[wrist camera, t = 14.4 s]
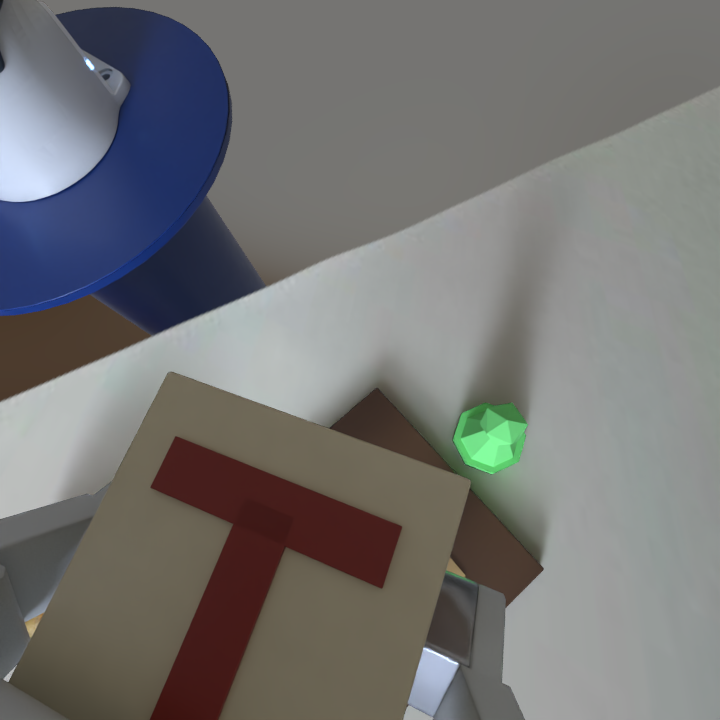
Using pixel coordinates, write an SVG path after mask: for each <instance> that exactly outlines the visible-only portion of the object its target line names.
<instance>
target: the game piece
mask: <svg viewBox="0 0 720 720" xmlns="http://www.w3.org/2000/svg"><path fill="white" fill-rule="evenodd" d="M527 426H528V424H527V422H526V421H525V420H524V418H523V417H522V415H521V414H520V413H519V411H518V410H517V408H516V407H515V406H514V404H513V403H508V404H502V405H496V406H494V405H491V404H488V403H483V404H481V405H479V406H477V407H475V408H472V409H470V410H468V411H466V412H464V413H462V414H461V416H460V419H459V422H458V425H457V428H456V431H455V434H454V437H453V442H454V444H455V446H456V448H457V450H458V452H459V454H460V456H461V458H462V460H463V462H464V464H465V465H467V466H470V467H473V468H475V469H478V470H481V471H484V472H486V473H489V474H494V473H496V472H498V471H500V470H502V469H504V468H506V467H509V466H511V465H513V464H515V463H517V462H519V459H520V455H521V452H522V448H523V445H524V441H525V437H526V435H525V433H524V431H525V429H526V427H527Z"/></svg>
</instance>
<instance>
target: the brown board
mask: <svg viewBox="0 0 720 720" xmlns="http://www.w3.org/2000/svg"><path fill="white" fill-rule="evenodd" d="M329 429H332V430H335V431H337V432H340V433H343V434H346V435H348V436H351V437H354V438H357V439H359V440H362V441H365V442H368V443H371V444H373V445H376V446H379V447H382V448H384V449H387V450H390V451H393V452H395V453H398V454H401V455H404V456H407V457H409V458H412V459H415V460H418V461H420V462H423V463H426V464H429V465H431V466H434V467H437V468H440V469H442V470H445V471H448V472H451V473H454V474H456V473H455V471H454V470H453V469H452V468H451V467H450V466H449V465H448V464H447V463H446V462H445V461H444V460H443V458H442V457H441V456H440V455H439V454H438V453H437V452H436V451H435V450H434V449H433V448H432V447H431V445H430V444H429V443H428V442H427V441H426V440H425V439H424V438H423V437H422V436H421V435H420V433H419V432H418V431H417V430H416V429H415V428H414V427H413V426H412V425H411V424H410V423H409V422H408V420H407V419H406V418H405V417H404V416H403V415H402V414H401V413H400V412H399V411H398V410H397V409H396V407H395V406H394V405H393V404H392V403H391V402H390V401H389V400H388V399H387V398H386V397H385V395H384V394H383V393H382V392H381V391H380V390H379V389H378V388H375V389H374V390H373V391H372V392H371V393H370V394H369V395H367V396H366V397H365V398H364V399H363V400H362V401H361V402H359V403H358V404H357V405H356V406H355V407H354V408H352V409H351V410H350V411H349V412H348V413H347V414H346V415H344V416H343V417H342V418H341V419H340V420H339V421H337V422H336V423H335V424H334V425H333V426H332V427H331V428H329ZM456 475H457V474H456ZM446 570H447V571H450V572H452V573H455V574H457V575H460V576H462V577H465V578H467V579H470V580H472V581H475V582H477V584H481V585H483V586H486V587H488V588H490V589H493V590H495V591H498V592H500V593H503V594H504V596H505V599H506V605H505V608H506V607H507V606H508V605H509V604H510V603H511V602H512V601H513V600H514V599H515V598H516V597H517V596H518V595H519V594H520V593H521V592H522V591H523V590H524V589H525V588H526V587H527V586H528V585H529V584H530V583H531V582H532V581H533V580H534V579H535V578H536V577H537V576H538V575H539V574H540V573H541V572H542V571H543V567H542V566H541V565H540V564H539V563H538V562H537V561H536V559H535V558H534V557H533V556H532V555H531V554H530V553H529V552H528V551H527V550H526V549H525V548H524V546H523V545H522V544H521V543H520V542H519V541H518V540H517V539H516V538H515V537H514V536H513V534H512V533H511V532H510V531H509V530H508V529H507V528H506V527H505V526H504V525H503V524H502V523H501V521H500V520H499V519H498V518H497V517H496V516H495V515H494V514H493V513H492V512H491V511H490V510H489V508H488V507H487V506H486V505H485V504H484V503H483V502H482V501H481V500H480V499H479V498H478V496H477V495H476V494H475V493H474V492H473V491H472V490H471V489H469V493H468V496H467V499H466V503H465V506H464V510H463V513H462V517H461V520H460V524H459V527H458V531H457V534H456V538H455V541H454V544H453V548H452V551H451V555H450V558H449V562H448V565H447V569H446ZM407 706H408V704H407Z"/></svg>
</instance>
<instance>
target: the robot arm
mask: <svg viewBox="0 0 720 720" xmlns="http://www.w3.org/2000/svg"><path fill="white" fill-rule="evenodd" d="M130 86H131V85H130V82H129V81H128V80H127V78H126V77H125V76H124V75H123V74H122V73H121V72H120V71H118V70H116V69H115V68H113V67H111V66H109V65H108V64H106V63H104V62H103V61H101V60H99V59H98V58H96V57H94V56H92V55H91V54H89V53H87V52H86V51H84V50H82V49H81V48H80V47H79V46H78V44H77V43H76V42H75V40H74V39H73V38H72V37H71V35H70V34H69V33H68V31H67V30H66V29H65V27H64V26H63V25H62V23H61V22H60V21H59V19H58V18H57V17H56V16H55V14H54V13H53V12H52V10H51V9H50V8H49V7H48V6H47V5H46V4H45V3H44V2H43V1H37V0H0V200H3V201H9V202H26V201H32V200H37V199H41V198H45V197H48V196H50V195H53V194H55V193H58V192H60V191H62V190H64V189H66V188H68V187H69V186H71V185H73V184H74V183H76V182H77V181H78V180H80V179H81V178H83V177H84V176H85V175H86V174H87V173H89V172H90V171H91V170H92V169H93V168H94V167H95V166H96V165H97V164H98V162H99V161H100V160H101V159H102V158H103V156H104V155H105V153H106V152H107V150H108V149H109V147H110V145H111V143H112V141H113V139H114V137H115V134H116V130H117V125H118V116H119V110H120V107H121V105H122V103H123V102H124V100H125V98H126V97H127V95H128V93H129V90H130ZM111 482H112V481H111ZM111 482H110V483H109V484H107V485H106V486H105V487H104V488H102V489H101V490H100V491H98V492H97V493H96V494H95V495H93V496H92V495H89V494H85V495H81V496H78V497H74V498H71V499H68V500H64V501H61V502H57V503H54V504H51V505H47V506H44V507H40V508H37V509H34V510H30V511H27V512H23V513H20V514H17V515H13V516H10V517H6V518H3V519H0V720H69V719H68V718H66V717H64V716H63V715H61V714H59V713H58V712H56V711H54V710H53V709H51V708H50V707H48V706H46V705H45V704H43V703H41V702H40V701H38V700H36V699H35V698H33V697H31V696H30V695H28V694H26V693H25V692H23V691H21V690H20V689H18V688H16V687H15V686H13V685H12V684H10V683H8V682H7V681H5V680H3V678H4V677H5V676H6V675H7V674H8V673H9V672H10V671H11V670H12V669H13V668H14V667H15V666H16V665H17V664H18V663H19V661H20V659H21V657H22V655H23V653H24V651H25V649H26V647H27V645H28V643H29V641H30V636H29V633H28V631H27V628H26V625H25V622H26V621H28V620H30V619H32V618H34V617H36V616H38V615H40V614H42V613H44V612H45V610H46V608H47V606H48V604H49V602H50V600H51V599H52V597H53V595H54V593H55V591H56V589H57V587H58V585H59V583H60V581H61V579H62V577H63V575H64V573H65V571H66V569H67V567H68V566H69V564H70V562H71V560H72V558H73V556H74V554H75V552H76V550H77V548H78V546H79V544H80V542H81V540H82V538H83V536H84V534H85V533H86V531H87V529H88V527H89V525H90V523H91V521H92V519H93V517H94V515H95V513H96V511H97V509H98V507H99V505H100V503H101V501H102V500H103V498H104V496H105V494H106V492H107V490H108V488H109V486H110V484H111ZM505 605H506V599H505V596H504V594H503V593H500V592H498V591H495V590H493V589H490V588H488V587H486V586H483V585H481V584H477V582H475V581H472V580H470V579H467V578H465V577H462V576H460V575H457V574H455V573H452V572H450V571H447V570H446V572H445V576H444V579H443V583H442V586H441V590H440V593H439V596H438V600H437V603H436V607H435V610H434V614H433V617H432V621H431V624H430V628H429V631H428V635H427V638H426V641H425V645H424V648H423V652H422V655H421V659H420V662H419V666H418V669H417V673H416V676H415V680H414V683H413V686H412V690H411V693H410V697H409V700H408V705H410V706H412V707H414V708H416V709H418V710H420V711H422V712H423V713H425V714H427V715H429V716H431V717H433V720H525V719H524V716H523V714H522V712H521V710H520V707H519V705H518V703H517V701H516V699H515V696H514V694H513V692H512V690H511V687H509V686H507V685H505V684H503V683H502V670H503V648H504V627H505Z"/></svg>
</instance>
